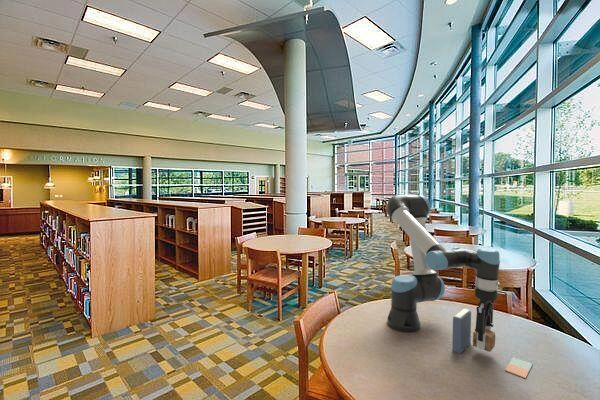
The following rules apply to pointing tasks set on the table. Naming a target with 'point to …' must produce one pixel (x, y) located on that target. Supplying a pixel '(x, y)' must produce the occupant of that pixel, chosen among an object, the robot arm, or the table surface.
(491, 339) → the letter block
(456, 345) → the navy book
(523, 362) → the tile sage
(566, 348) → the table surface
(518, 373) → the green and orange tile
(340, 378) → the table surface
